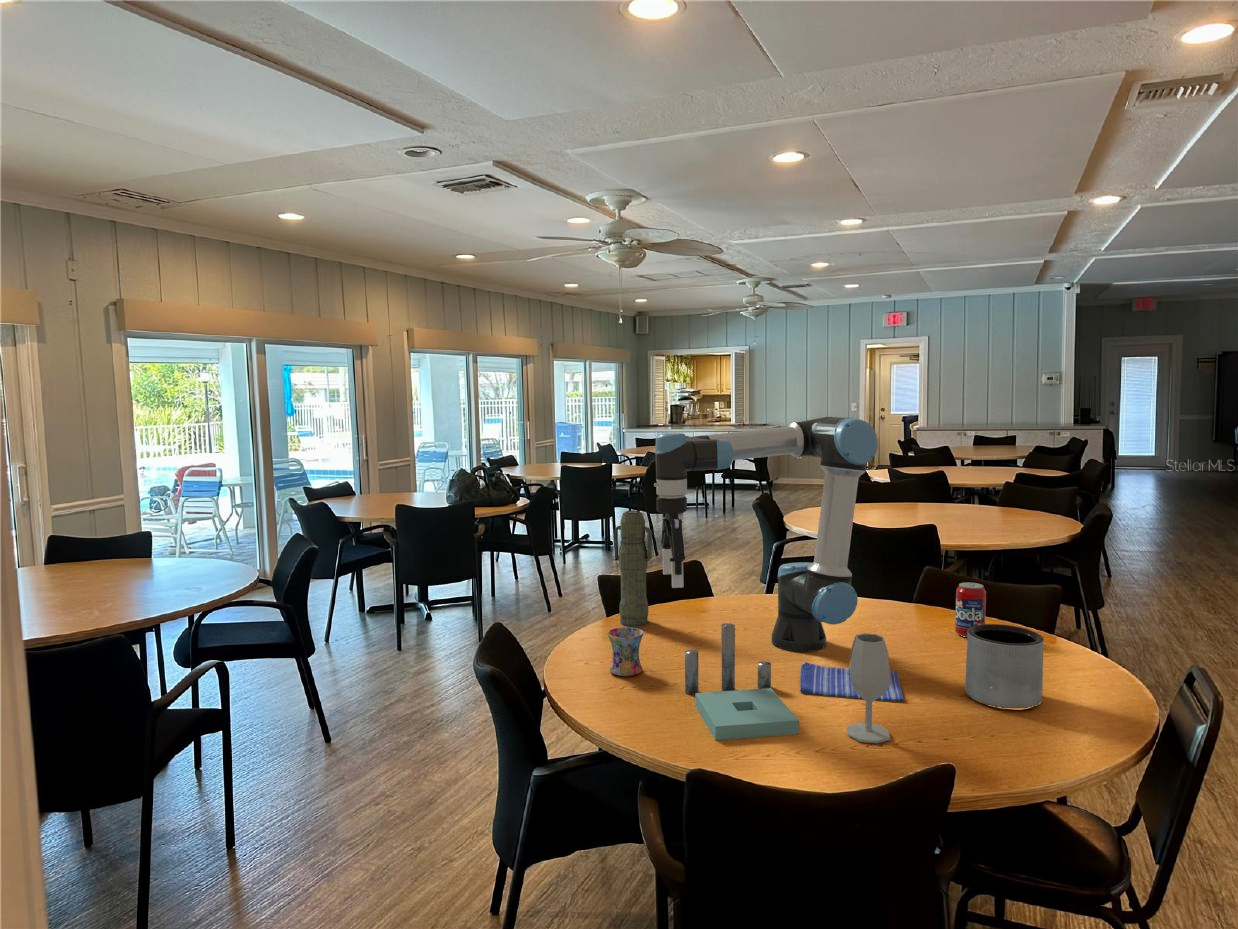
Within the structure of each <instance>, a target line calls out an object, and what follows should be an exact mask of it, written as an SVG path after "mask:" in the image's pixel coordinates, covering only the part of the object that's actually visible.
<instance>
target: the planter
mask: <svg viewBox="0 0 1238 929" xmlns="http://www.w3.org/2000/svg"><path fill="white" fill-rule="evenodd" d="M966 640H967V642H966V644H967V645H966V659H965V660H966V661H965V683H964V685H965V686H964V687H965V692H966V694H967V695H968V696H969V697H970V699H972V700H974V701H975V700H976V701H975V702H977V701H978V702H977V703H979V702H981V703H983V704H986V705H991V706H995V707H1001V708H1028V707H1032V706H1035V705H1038V704H1039V703H1040V702H1041V701H1042V702H1043V690H1044V689H1043V685H1044V680H1043V679H1044V678H1043V677H1044V644H1045V642H1044V641H1045V638H1044V637H1043V635H1041V634H1039V633H1038V632H1036V631H1034V630H1032V629H1031V630H1030V629H1028V628H1025V627H1021V626H1016V625H1008V624H999V623H997V624H996V623H985V624H982V625H976V626H973V627H970V628H969V629H968V633H967V638H966ZM1042 702H1041V703H1042ZM981 703H980V704H981ZM983 704H982V705H983ZM986 705H985V706H986ZM1039 705H1040V704H1039ZM1039 705H1038V706H1039Z"/></svg>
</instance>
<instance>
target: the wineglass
mask: <svg viewBox="0 0 1238 929" xmlns="http://www.w3.org/2000/svg"><path fill="white" fill-rule="evenodd" d="M889 658H890V657H889V652H888V647H887V644H886V640H885V637H884V636H882V635H879V634H877V633H867V632H866V633H865V632H864V633H859V634H855V636H854V639H853V641H852V645H851V651H850V655H849V669H850V677H851V682H852V686H853V690H854V691H855V692H856V693H857V694H858V695H859V696H861V697H862V698H863V699H862V700H864V701H865V712H864V713H865V715H864V716H865V719H864V721H865V722H858V723H853V724H849V725H847V734H848V736H849V737H850V738H852V739H853V740H855V741H857V742H859V743H867V744H881V743H885V742H888V741H889V742H890V740H891V737H890V731H889V729H887V728H885V727H883V726H882V725H879V724H877V723H873V702H875V701H876V699H878V698H879V697H881V696H882V695H884V694H885V693H886V691H887V688H888V685H889V681H890V671H891V665H890V659H889Z"/></svg>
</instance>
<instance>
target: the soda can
mask: <svg viewBox="0 0 1238 929" xmlns="http://www.w3.org/2000/svg"><path fill="white" fill-rule="evenodd" d="M986 605H987V590H985V587H984V585H983V584H980V583H977V582H966V581H965V582H961V583H959V584H958V587H957V588H956V592H955V621H954V622H955V625H954V626H955V627H954V630H955V633H956V634H957V635H959V636H960V635H962V636H965V637H967V633H968V629H969V628H970V627H973V626H976V625H982V624H986ZM962 636H961V637H962ZM965 637H964V638H965Z"/></svg>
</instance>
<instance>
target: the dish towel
mask: <svg viewBox="0 0 1238 929" xmlns="http://www.w3.org/2000/svg"><path fill="white" fill-rule="evenodd" d="M800 665H801V668H800V686H799V687H800V689H799V691H800V693H801V694H806V695H807V694H808V695H809V694H810V695H813V696H815V695H816V696H823V697H831V696H832V697H834V698H845V699H855V698H856V700H864V699H863V698H862V697H861V696H859V695H858V694H857V693H856V692H855V691H854V690H853V686H852V682H851V677H850V668H845V667H834V666H833V667H831V666H827V665H825V666H822V665H818V664H816V663H815V664H814V663H810V662H807V661H805V662H804V663H802V664H800ZM901 687H902V686H901V683H900V678H899V674H898V671H897V670H892V671H891V670H890V681H889V685H888V688H887V691H886V693H885V694H884V695H882V696H881V697H879V698H878V699H876V700H875V701H878V702H879V701H880V702H893V703H895V702H899V703H900V702H905V698H904V696H903V692H902V688H901Z"/></svg>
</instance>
